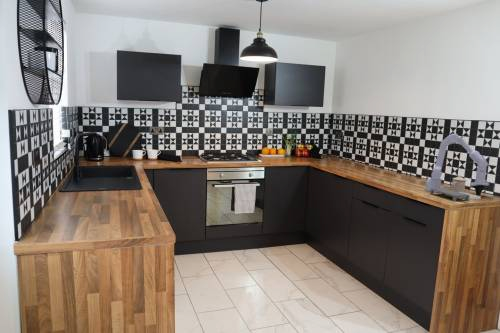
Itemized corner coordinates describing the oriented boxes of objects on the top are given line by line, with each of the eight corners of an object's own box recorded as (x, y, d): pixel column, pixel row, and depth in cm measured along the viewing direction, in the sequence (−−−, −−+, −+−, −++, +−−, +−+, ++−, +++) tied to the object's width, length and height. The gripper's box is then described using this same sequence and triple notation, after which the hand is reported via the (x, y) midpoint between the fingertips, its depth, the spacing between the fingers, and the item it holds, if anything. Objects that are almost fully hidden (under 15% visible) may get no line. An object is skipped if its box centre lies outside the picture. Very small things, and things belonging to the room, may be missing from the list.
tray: (462, 194, 278) (463, 191, 278) (480, 199, 264) (480, 196, 264) (449, 194, 275) (449, 192, 275) (466, 199, 261) (466, 196, 260)
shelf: (443, 193, 278) (444, 188, 277) (468, 201, 257) (469, 195, 256) (429, 194, 274) (430, 188, 274) (454, 201, 253) (455, 195, 253)
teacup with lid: (454, 189, 298) (456, 174, 296) (466, 191, 291) (468, 176, 289) (446, 190, 291) (448, 175, 289) (459, 193, 284) (461, 177, 282)
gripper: (477, 177, 265) (474, 197, 267) (493, 177, 269) (491, 196, 271) (468, 175, 272) (466, 194, 274) (485, 175, 276) (482, 194, 278)
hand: (478, 195), depth 273 cm, fingers closed
